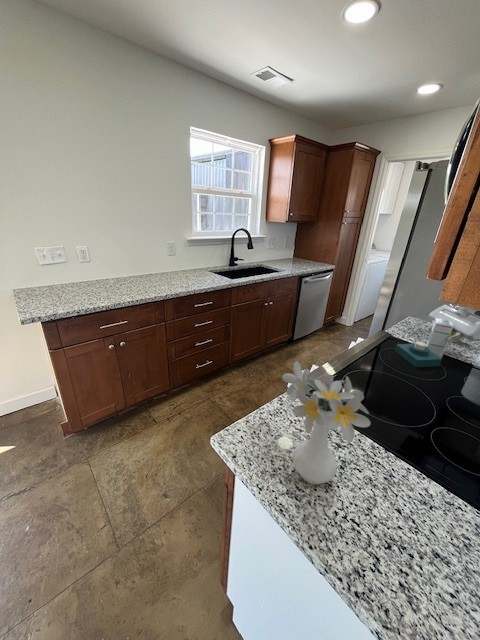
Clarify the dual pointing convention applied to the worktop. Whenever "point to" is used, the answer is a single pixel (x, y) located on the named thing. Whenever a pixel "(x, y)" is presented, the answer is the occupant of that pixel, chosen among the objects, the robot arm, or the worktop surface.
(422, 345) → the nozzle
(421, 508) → the worktop surface
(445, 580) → the worktop surface
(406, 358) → the cap block
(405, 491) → the worktop surface
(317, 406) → the flower vase
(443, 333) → the syrup box
